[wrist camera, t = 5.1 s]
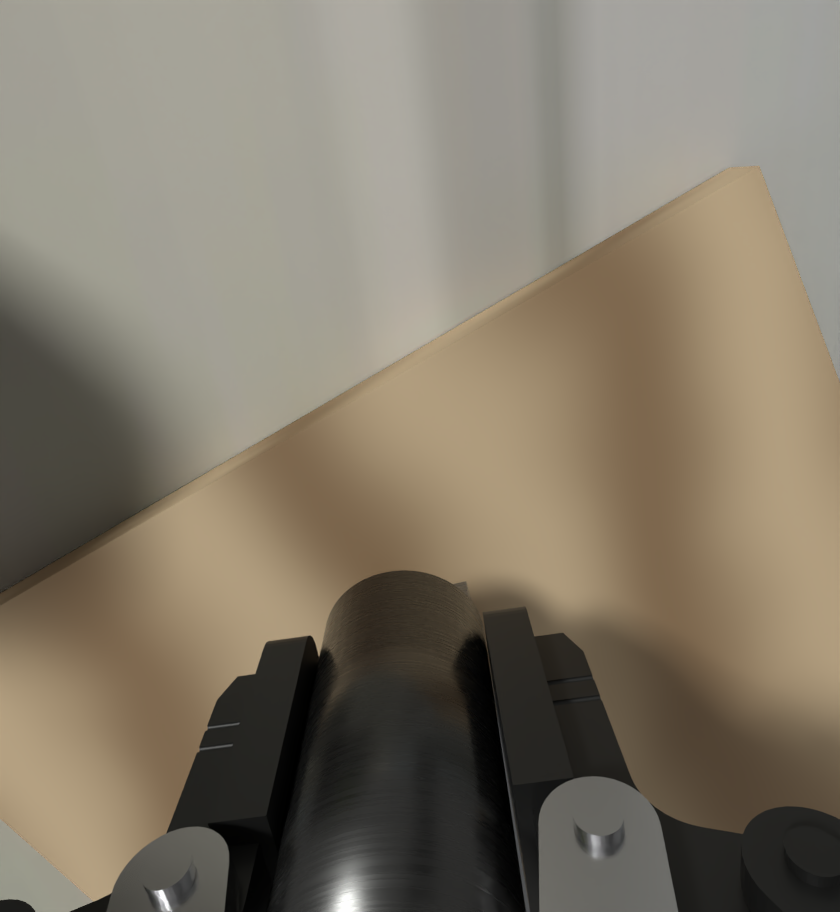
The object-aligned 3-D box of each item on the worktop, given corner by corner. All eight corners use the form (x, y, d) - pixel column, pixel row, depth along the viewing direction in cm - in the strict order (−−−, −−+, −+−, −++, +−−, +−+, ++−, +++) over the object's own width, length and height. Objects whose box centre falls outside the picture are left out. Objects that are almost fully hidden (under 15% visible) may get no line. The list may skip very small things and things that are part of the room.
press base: (729, 167, 13) (866, 160, 9) (993, 850, 20) (1138, 1017, 16) (-128, 667, 17) (-291, 811, 13) (333, 1087, 24) (316, 1265, 20)
